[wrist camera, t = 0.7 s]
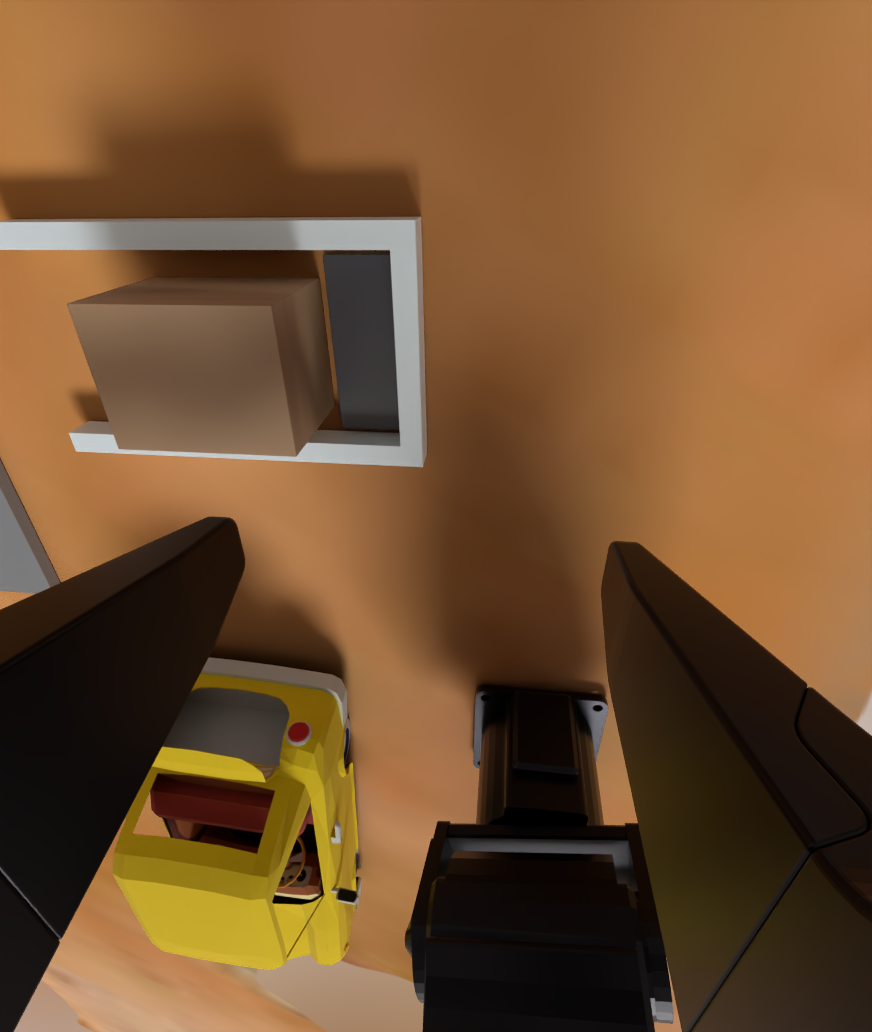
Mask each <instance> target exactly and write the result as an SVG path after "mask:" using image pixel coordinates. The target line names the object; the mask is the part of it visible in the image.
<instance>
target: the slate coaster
mask: <svg viewBox="0 0 872 1032" xmlns="http://www.w3.org/2000/svg"><path fill="white" fill-rule="evenodd" d="M59 583H60V581H59V579H58V577H57V575H56V573H55V571H54V569H53V567H52V565H51V563H50V561H49V559H48V556H47V554H46V552H45V550H44V548H43V546H42V544H41V542H40V540H39V538H38V536H37V534H36V532H35V530H34V528H33V526H32V524H31V522H30V520H29V518H28V516H27V513H26V511H25V509H24V507H23V505H22V503H21V501H20V499H19V497H18V495H17V493H16V491H15V489H14V487H13V485H12V483H11V481H10V479H9V477H8V475H7V473H6V470H5V468H4V466H3V464H2V462H1V460H0V591H11V592H24V593H39V592H41V591H43V590H46V589H48V588H50V587H52V586H54V585H57V584H59Z"/></svg>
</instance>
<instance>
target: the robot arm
mask: <svg viewBox="0 0 872 1032" xmlns="http://www.w3.org/2000/svg"><path fill="white" fill-rule="evenodd" d="M244 568H245V556H244V552H243V548H242V544H241V539H240V535H239V531H238V527H237V524H236V522H235V521H234V520H233V519H231V518H227V517H207V518H204V519H202V520H200V521H197V522H195V523H193V524H191V525H189V526H186V527H184V528H182V529H180V530H177V531H175V532H173V533H171V534H168V535H166V536H164V537H162V538H159V539H157V540H155V541H153V542H151V543H148V544H146V545H144V546H142V547H139V548H137V549H135V550H133V551H130V552H128V553H126V554H124V555H122V556H119V557H117V558H115V559H113V560H110V561H108V562H106V563H104V564H101V565H99V566H97V567H95V568H92V569H90V570H88V571H86V572H84V573H81V574H79V575H77V576H75V577H72V578H70V579H68V580H66V581H63V582H61V583H59V584H57V585H54V586H52V587H50V588H48V589H46V590H43V591H41V592H39V593H37V594H34V595H32V596H30V597H28V598H25V599H23V600H21V601H19V602H16V603H14V604H12V605H10V606H8V607H5V608H3V609H1V610H0V1032H14V1030H15V1028H16V1026H17V1024H18V1022H19V1020H20V1018H21V1016H22V1015H23V1013H24V1011H25V1009H26V1007H27V1005H28V1003H29V1001H30V999H31V997H32V996H33V994H34V992H35V990H36V988H37V986H38V984H39V982H40V980H41V979H42V977H43V975H44V973H45V971H46V969H47V967H48V965H49V963H50V961H51V959H52V957H53V956H54V954H55V952H56V950H57V948H58V946H59V944H60V941H59V939H61V938H62V937H63V936H64V934H65V932H66V930H67V928H68V926H69V924H70V922H71V920H72V918H73V916H74V914H75V913H76V911H77V909H78V907H79V905H80V903H81V901H82V899H83V897H84V895H85V893H86V892H87V890H88V888H89V886H90V884H91V882H92V880H93V878H94V876H95V874H96V872H97V870H98V869H99V867H100V865H101V863H102V861H103V859H104V857H105V855H106V853H107V851H108V849H109V847H110V846H111V844H112V842H113V840H114V838H115V836H116V834H117V832H118V830H119V828H120V826H121V825H122V823H123V821H124V819H125V817H126V815H127V813H128V811H129V809H130V807H131V805H132V803H133V802H134V800H135V798H136V796H137V794H138V792H139V790H140V788H141V786H142V784H143V782H144V781H145V779H146V777H147V775H148V773H149V771H150V769H151V767H152V765H153V763H154V761H155V759H156V758H157V756H158V754H159V752H160V750H161V748H162V746H163V744H164V742H165V740H166V738H167V737H168V735H169V733H170V731H171V729H172V727H173V725H174V723H175V721H176V719H177V717H178V715H179V714H180V712H181V710H182V708H183V706H184V704H185V702H186V700H187V698H188V696H189V694H190V693H191V691H192V689H193V687H194V685H195V683H196V681H197V679H198V677H199V675H200V673H201V671H202V670H203V668H204V666H205V664H206V662H207V660H208V658H209V656H210V654H211V652H212V650H213V648H214V646H215V644H216V641H217V639H218V636H219V634H220V632H221V629H222V626H223V624H224V621H225V619H226V616H227V613H228V611H229V608H230V606H231V603H232V601H233V598H234V595H235V593H236V590H237V588H238V585H239V582H240V580H241V577H242V575H243V572H244ZM601 599H602V612H603V625H604V637H605V650H606V663H607V673H608V682H609V687H610V693H611V698H612V703H613V707H614V712H615V717H616V722H617V726H618V731H619V736H620V740H621V745H622V750H623V755H624V759H625V764H626V769H627V773H628V778H629V783H630V788H631V792H632V797H633V802H634V806H635V811H636V816H637V821H638V823H625V825H604V822H603V814H602V806H601V799H600V791H599V783H598V776H597V768H596V759H597V754H598V750H599V746H600V742H601V737H602V733H603V729H604V725H605V720H606V716H607V712H608V704H607V700H606V698H605V697H603V696H601V695H593V694H582V693H571V692H560V691H548V690H537V689H526V688H515V687H504V686H492V685H481V686H479V687H478V688H477V690H476V702H475V729H474V756H473V764H474V766H475V767H477V768H479V769H480V771H479V787H478V803H477V818H476V824H451V823H450V821H438V822H437V826H436V830H435V834H434V838H433V839H431V841H430V845H429V849H428V853H427V857H426V861H425V865H424V869H423V873H422V877H421V881H420V885H419V889H418V893H417V897H416V901H415V905H414V909H413V913H412V917H411V921H410V923H409V925H408V928H407V930H406V934H405V947H406V949H407V951H408V952H409V954H410V955H411V957H412V967H413V980H414V987H415V992H416V995H417V998H418V1000H419V1001H420V1002H421V1003H424V1012H423V1032H655V1029H654V1022H659V1023H671V1024H673V1005H672V996H671V987H670V980H669V973H668V967H669V972H670V976H671V981H672V986H673V990H674V995H675V1000H676V1005H677V1009H678V1014H679V1019H680V1023H681V1028H682V1032H872V736H871V735H870V734H869V733H867V732H866V731H865V730H864V729H862V728H861V727H860V726H859V725H858V724H856V723H855V722H854V721H853V720H851V719H850V718H849V717H848V716H846V715H845V714H844V713H843V712H841V711H840V710H839V709H838V708H836V707H835V706H834V705H833V704H832V703H830V702H829V701H828V700H827V699H826V698H824V697H823V696H822V695H821V694H820V693H818V692H817V691H816V690H815V689H813V688H811V687H809V688H807V683H806V682H805V681H804V680H802V679H801V678H800V677H799V676H798V675H796V674H795V673H794V672H793V671H792V670H790V669H789V668H788V667H787V666H786V665H784V664H783V663H782V662H781V661H780V660H778V659H777V658H776V657H775V656H774V655H772V654H771V653H770V652H769V651H768V650H766V649H765V648H764V647H763V646H762V645H760V644H759V643H758V642H757V641H756V640H754V639H753V638H752V637H751V636H750V635H748V634H747V633H746V632H745V631H744V630H742V629H741V628H740V627H739V626H738V625H736V624H735V623H734V622H733V621H732V620H731V619H729V618H728V617H727V616H726V615H725V614H723V613H722V612H721V611H720V610H719V609H717V608H716V607H715V606H714V605H713V604H711V603H710V602H709V601H708V600H707V599H705V598H704V597H703V596H702V595H701V594H699V593H698V592H697V591H696V590H695V589H693V588H692V587H691V586H690V585H689V584H687V583H686V582H685V581H684V580H683V579H681V578H680V577H679V576H678V575H677V574H675V573H674V572H673V571H672V570H671V569H669V568H668V567H667V566H666V565H665V564H663V563H662V562H661V561H660V560H659V559H657V558H656V557H655V556H654V555H653V554H651V553H650V552H649V551H648V550H647V549H645V548H644V547H643V546H642V545H640V544H639V543H636V542H621V541H614V542H612V543H611V544H610V546H609V549H608V554H607V559H606V564H605V569H604V575H603V580H602V587H601ZM666 957H667V960H666ZM667 962H668V966H667Z"/></svg>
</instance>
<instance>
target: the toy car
mask: <svg viewBox="0 0 872 1032" xmlns="http://www.w3.org/2000/svg"><path fill="white" fill-rule="evenodd" d="M349 740H350V720H349V718H348V716H347V689H346V687H345V685H344V684H343V682H342V680H341V679H340V678H338V677H336V676H335V675H332V674H326V673H320V672H314V671H308V670H301V669H295V668H289V667H282V666H276V665H268V664H261V663H253V662H245V661H237V660H230V659H220V658H210V657H209V658H208V660H207V662H206V664H205V666H204V668H203V670H202V671H201V673H200V675H199V677H198V679H197V681H196V683H195V685H194V687H193V689H192V691H191V693H190V694H189V696H188V698H187V700H186V702H185V704H184V706H183V708H182V710H181V712H180V714H179V715H178V717H177V719H176V721H175V723H174V725H173V727H172V729H171V731H170V733H169V735H168V737H167V738H166V740H165V742H164V744H163V746H162V748H161V750H160V752H159V754H158V756H157V758H156V759H155V761H154V763H153V765H152V767H151V769H150V771H149V773H148V775H147V777H146V779H145V781H144V782H143V784H142V786H141V788H140V790H139V792H138V794H137V796H136V798H135V800H134V802H133V803H132V805H131V807H130V809H129V811H128V814H127V817H126V821H125V823H124V826H123V828H122V830H121V833H120V836H119V839H118V842H117V845H116V848H115V851H114V860H113V872H112V874H113V875H114V877H115V879H116V881H117V883H118V884H119V886H120V888H121V890H122V892H123V894H124V895H125V897H126V899H127V901H128V903H129V905H130V906H131V908H132V910H133V912H134V914H135V915H136V917H137V919H138V921H139V923H140V925H141V926H142V928H143V929H144V931H145V933H146V934H147V936H148V937H149V939H150V941H151V942H152V943H153V944H154V945H156V946H157V947H158V948H159V949H160V950H162V951H165V952H169V953H174V954H179V955H184V956H188V957H193V958H198V959H203V960H209V961H214V962H220V963H226V964H231V965H238V966H245V967H252V968H259V969H266V970H272V969H275V968H278V967H280V966H283V965H284V964H285V963H286V962H287V960H289V959H291V958H294V957H299V956H305V955H310V954H311V955H312V957H313V958H314V959H315V960H316V962H317V963H318V964H322V965H328V966H331V965H333V964H334V963H336V962H338V961H340V960H341V959H342V958H343V957H344V955H345V953H346V952H347V951H348V949H349V944H348V943H349V938H350V933H351V928H352V920H353V913H354V910H355V909H357V907H358V903H359V898H360V893H361V878H360V877H356V870H357V863H358V853H359V846H358V832H357V818H356V803H355V788H354V774H353V762H352V763H351V764H345V762H346V758H347V753H348V748H349ZM149 792H150V795H151V808H152V811H153V812H154V813H155V814H156V815H157V816H159V817H162V819H163V822H164V824H165V827H166V829H167V831H168V834H169V836H170V838H169V837H161V836H149V835H138V834H133V830H134V828H135V826H136V823H137V821H138V819H139V816H140V814H141V811H142V809H143V807H144V804H145V802H146V799H147V797H148V795H149Z"/></svg>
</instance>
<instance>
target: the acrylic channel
mask: <svg viewBox="0 0 872 1032" xmlns="http://www.w3.org/2000/svg"><path fill="white" fill-rule="evenodd" d="M0 250H390V254H324V255H323V262H324V270H325V279H326V288H327V297H328V306H329V315H330V323H331V332H332V341H333V350H334V359H335V367H336V376H337V385H338V394H339V403H340V412H341V420H342V428H357V429H383V430H400V433H388V432H362V431H336V430H316V431H315V433H314V434H313V435H312V437H311V438H310V439H309V441H308V442H307V443H306V445H305V446H304V447H303V449H302V450H301V451H300V453H299V454H298V455H297V457H290V456H267V455H243V454H219V453H196V452H172V451H149V450H125V449H118V446H117V443H116V440H115V438H114V435H113V432H112V429H111V426H110V424H109V422H103V421H88V422H86V423H84V424H83V425H81V426H79V427H78V428H76V429H74V430H73V431H71V432H69V435H70V437H71V440H72V442H73V445H74V447H75V450H76V451H79V452H101V453H123V454H145V455H167V456H189V457H211V458H233V459H255V460H277V461H299V462H321V463H343V464H365V465H387V466H409V467H423V465H424V462H425V458H426V455H427V424H426V384H425V344H424V304H423V264H422V223H421V217H284V218H127V219H10V220H1V221H0Z"/></svg>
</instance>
